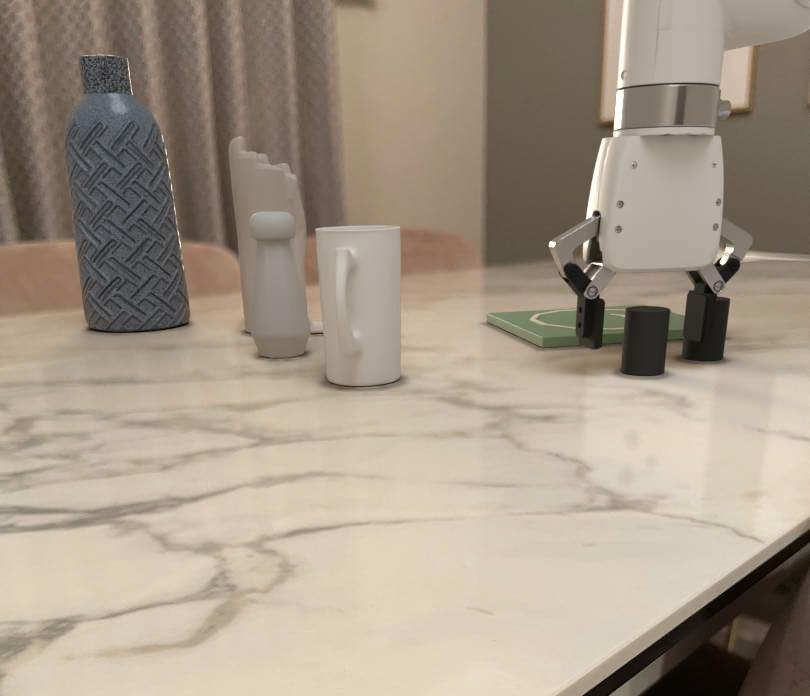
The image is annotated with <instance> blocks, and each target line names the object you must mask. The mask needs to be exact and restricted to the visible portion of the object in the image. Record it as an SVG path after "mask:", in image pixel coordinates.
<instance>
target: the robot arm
mask: <svg viewBox="0 0 810 696" xmlns="http://www.w3.org/2000/svg"><path fill="white" fill-rule="evenodd" d="M621 10H622V11H621V25H620V26H621V28H620V37H619V38H620V39H619V40H620V41H619V50H618V51H619V52H618V65H617V76H616V77H617V78H616V79H617V81H616V92H615V104H614V105H615V106H614V118H613V129H612V130H613V131H612V136H611V137H602V138H601V142H600V144H599V145H600V146H599V149H598V153H597V156H596V161H595V164H594V169H593V175H592V178H591V179H592V180H591V183H590V184H591V185H590V189H589V195H588V200H587V210H586V214H585V215H586V216H585V220H583V221H581V222H580V223H578V224H575V226H573V227H571V228H569V229H568V230H566V231H565V232H562V233H561V234H559V235H558V236H555V237H554V238H553V239H551V240H550V241H549V243H548V249H549V251H550V254H551V256H552V258H553V262H554V263H555V266H556V267H557V269H558V270H557V272H558V275H559V276H560V277H561V279H562V280H563V281H564V282H565V283H566V284H567V286H568V287H569V288H570V290H571V291H572V293H573V295H575V296H577V298H576V308H577V312H576V328H575V331H576V336H577V337H579V344H580V345H579V346H583V347H585V348H587V349H590V350H599V349H600V348H602V346H603V344H602V338H603V324H604V311H605V307H606V302H605V299H604V298H600V296H601V293H602V291H603V290H604V289H605V288H606V286H607V285H608V284H609V283H610V281H611V280H613V278H614V276H615V275H616V274H644V273H645V274H649V273H673V272H674V273H675V272H676V273H677V272H685V274H686V276H687V278H688V279H689V280H690V282H691V284H692V285H693V289H690V290H688V292H687V294H686V301H685V310H684V316H685V318H684V327H683V337H684V338H686V339H688V340H692V341H695V342H698V343H708V342H709V338H710V331H711V330H712V328H713V322H714V314H715V306H716V299H717V296H718V295H720V294H721V293H723V292H724V290H725V288H726V284H727V283H728V282H729V281H730V280H731V279H732V278H733V277H734V275H735V274H737V273H738V272H739V270H740V268H741V262H742V261H744V259H745V257H746V256H747V253H748V251H749V249H750V248H751V246H752V245H753V243H754V238H753V235H751V234H750V233H749V232H747V231H746V230H744V229H743V228H741V227H739V226H737V225H736V224H735V223H733V222H731V221H730V220H728V219H727V218H726V217H724V216H723V213H724V212H723V211H724V190H725V189H724V187H725V186H724V185H725V182H724V180H725V178H724V176H725V174H724V171H725V170H724V154H723V153H724V152H723V143H722V136H721V135H715V133H716V132H715V131H716V128H717V127H718V121H719V120H727V119H728V118H729V117H730V115H731V112H732V102H731V101H730V100H726V99H725V100H724V99H722V98H721V96H722V89H721V88H720V86H721V80H722V72H723V71H722V70H723V63H724V56H725V52H726V51H732V50H736V49H737V50H738V49H742V48H747V47H755V46H761V45H765V44H771V43H776V42H781V41H784V40H789V39H793V38H794V37H797V36H799V35H803V34H805V33H806V32H808V31H810V0H622V9H621ZM720 241H723V242H724V243H725V249H724V252H723V255H722V256H721V257H720V258H718V260H716V259H717V256H718V253H719V247H720ZM581 245H582V259H583V262H584V264H585V265H586V267H585V268H584V270H583V269H582V268H581V266H579V265H578V264H577V261H576V257H575V255H574V254H575V250H576V249H577V248H578V247H579V246H581ZM715 261H716V262H715Z"/></svg>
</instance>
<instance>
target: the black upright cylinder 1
mask: <svg viewBox="0 0 810 696" xmlns="http://www.w3.org/2000/svg"><path fill="white" fill-rule="evenodd" d="M670 312H671V308H669V307H665V306H659V305H646V306H634V307H628V308H626V310H625V323H624V335H623V343H622V347H621V363H620V372H622V373H624V374H627V375H631V376H641V377H642V376H643V377H644V376H646V377H647V376H649V377H650V376H651V377H652V376H659V375H662V374H665V369H666V368H665V367H666V358H667V348H668V341H669V340H668V330H669V320H670Z"/></svg>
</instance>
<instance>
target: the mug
mask: <svg viewBox="0 0 810 696" xmlns="http://www.w3.org/2000/svg"><path fill="white" fill-rule="evenodd" d="M315 238H316V239H315V241H316V258H317V261H316V262H317V272H318V273H317V274H318V283H319V284H318V285H319V296H320V306H321V307H320V308H321V321H322V324H323V333H322V334H323V335H322V337H323V347H324V348H323V349H324V358H325V359H324V360H325V369H326V378H327V381H328V382H330V383H332V384H335V385H340V386H348V387H370V386H371V387H372V386H380V385H381V386H382V385H386V384H390V383H394V382H396V381H398V380H399V379H400V378H401V373H402V371H401V369H402V368H401V367H402V365H401V364H402V245H401V244H402V239H401V227H400V226H398V225H342V226H326V227H317V228H315Z"/></svg>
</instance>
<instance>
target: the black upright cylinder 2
mask: <svg viewBox="0 0 810 696" xmlns="http://www.w3.org/2000/svg"><path fill="white" fill-rule="evenodd" d="M730 306H731V298H730V297H727V296H726V297H725V296H718V295H717V299H716V306H715V314H714V322H713V328H712V330H711V331H710V338H709V342H708V343H698V342H695V341H692V340H688V339H686V338H683V339H682V347H681V348H682V349H681V357H682V358H683V359H685V360H690V361H697V362H713V361H720V360H722V359H724V353H725V346H726V338H727V329H728V321H729V314H730V313H729V312H730Z"/></svg>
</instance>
